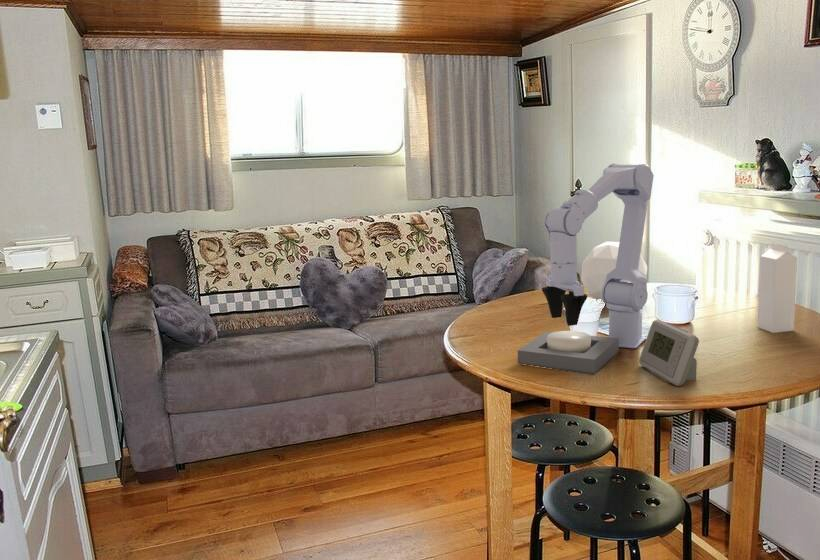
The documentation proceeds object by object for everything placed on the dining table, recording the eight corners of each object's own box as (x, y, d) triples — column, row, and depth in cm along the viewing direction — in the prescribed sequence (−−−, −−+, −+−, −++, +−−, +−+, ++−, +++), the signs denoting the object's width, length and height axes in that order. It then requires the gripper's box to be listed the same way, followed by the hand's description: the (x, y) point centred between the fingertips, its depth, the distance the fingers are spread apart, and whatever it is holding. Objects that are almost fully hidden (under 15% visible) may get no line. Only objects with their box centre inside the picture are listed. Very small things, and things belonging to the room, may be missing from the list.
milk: (772, 333, 182) (776, 246, 178) (756, 327, 188) (760, 243, 183) (794, 330, 183) (798, 244, 179) (777, 325, 189) (781, 241, 185)
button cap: (556, 341, 176) (556, 329, 175) (596, 346, 171) (596, 333, 170) (540, 353, 168) (540, 339, 167) (582, 358, 162) (582, 344, 162)
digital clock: (636, 364, 163) (637, 319, 161) (677, 363, 163) (678, 317, 161) (660, 389, 147) (661, 338, 145) (705, 387, 147) (706, 336, 145)
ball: (630, 326, 220) (657, 282, 206) (567, 304, 222) (590, 258, 207) (634, 285, 233) (661, 241, 219) (575, 265, 235) (597, 219, 221)
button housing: (547, 344, 182) (546, 331, 181) (618, 352, 172) (618, 338, 172) (517, 364, 167) (517, 350, 166) (594, 374, 157) (594, 359, 157)
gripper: (533, 258, 167) (534, 316, 169) (562, 268, 153) (563, 330, 156) (560, 256, 169) (561, 312, 171) (592, 265, 155) (592, 326, 158)
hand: (564, 321), depth 164 cm, fingers open, 7 cm apart
